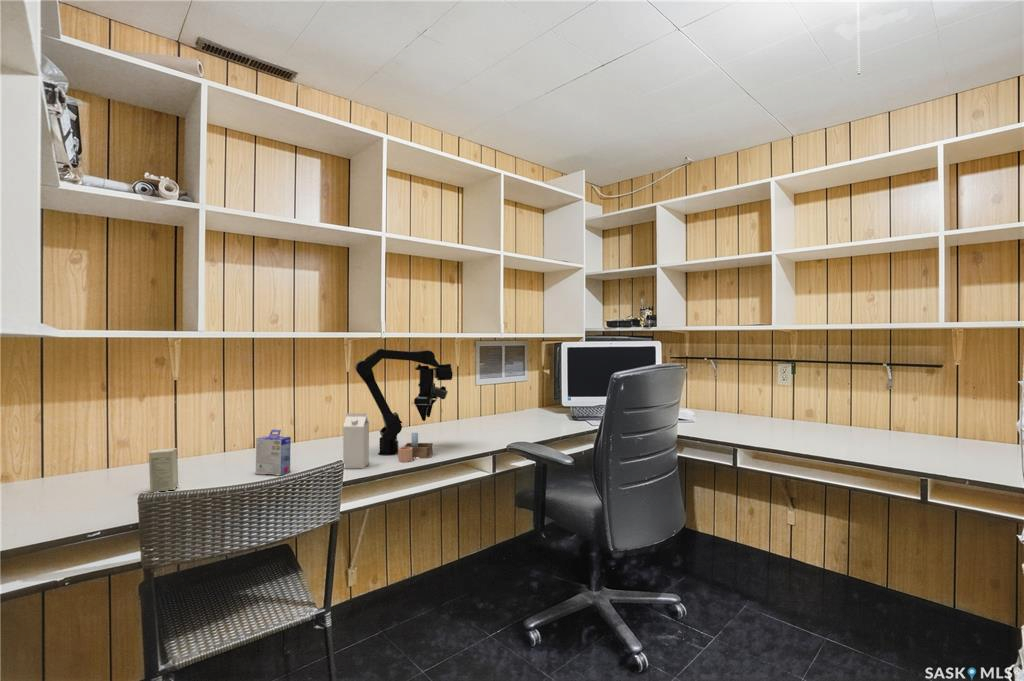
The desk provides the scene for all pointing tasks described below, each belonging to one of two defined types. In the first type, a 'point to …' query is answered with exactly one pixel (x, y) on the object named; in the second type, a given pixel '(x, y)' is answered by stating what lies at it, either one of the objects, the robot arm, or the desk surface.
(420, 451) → the walnut tray
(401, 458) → the terracotta pot
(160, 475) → the skincare box
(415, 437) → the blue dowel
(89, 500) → the desk surface
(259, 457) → the ink cartridge box
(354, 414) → the milk carton
